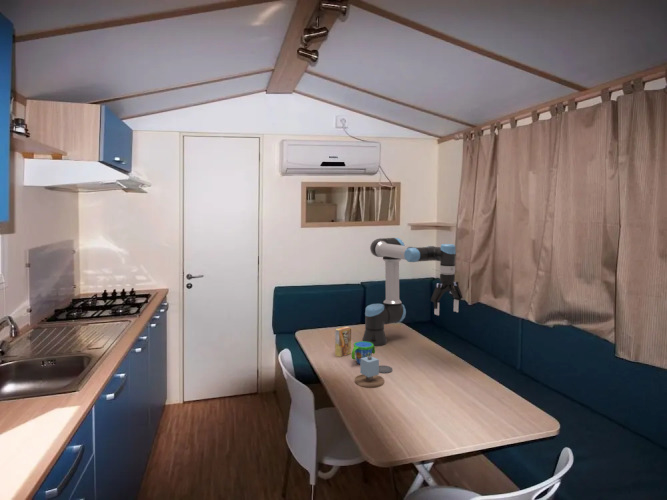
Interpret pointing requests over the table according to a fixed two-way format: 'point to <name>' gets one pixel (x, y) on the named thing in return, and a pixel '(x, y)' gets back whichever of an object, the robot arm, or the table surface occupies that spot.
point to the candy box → (342, 341)
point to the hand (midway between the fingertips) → (446, 313)
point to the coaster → (385, 369)
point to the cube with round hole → (369, 366)
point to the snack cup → (362, 350)
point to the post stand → (369, 381)
